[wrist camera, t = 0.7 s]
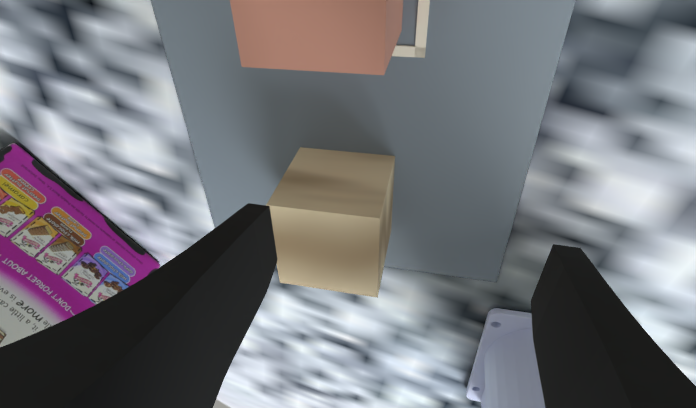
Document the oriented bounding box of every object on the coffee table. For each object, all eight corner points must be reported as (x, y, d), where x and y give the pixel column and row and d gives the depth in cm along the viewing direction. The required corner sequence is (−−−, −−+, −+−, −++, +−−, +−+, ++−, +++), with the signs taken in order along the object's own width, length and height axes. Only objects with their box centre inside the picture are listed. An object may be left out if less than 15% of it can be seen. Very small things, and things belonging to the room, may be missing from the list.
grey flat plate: (496, 279, 23) (496, 283, 23) (221, 241, 26) (218, 244, 26) (647, -264, 11) (651, -267, 11) (92, -221, 14) (85, -223, 13)
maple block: (391, 230, 22) (377, 297, 19) (307, 220, 23) (279, 282, 20) (395, 156, 19) (379, 218, 16) (300, 147, 20) (266, 205, 17)
